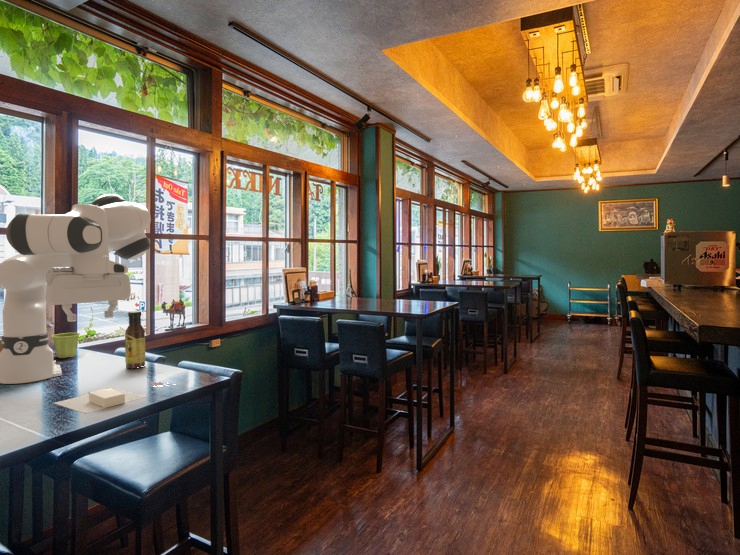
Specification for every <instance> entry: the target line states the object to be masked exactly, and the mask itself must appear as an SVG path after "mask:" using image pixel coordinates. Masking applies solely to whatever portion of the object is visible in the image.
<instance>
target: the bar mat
mask: <svg viewBox="0 0 740 555" xmlns="http://www.w3.org/2000/svg"><path fill="white" fill-rule="evenodd" d="M111 389H113V390H115V391H118V392H121V393H124V394H125V403H130V402H132V401H137V400H141V399H143V398H147V396H146V395H141V394H138V393H134V392H131V391H130V392H129V391H127V390H126V391H125V390H122V389H118V388H114V387H113V388H111ZM125 403H124V404H125ZM53 404H54V405H57V406H61V407H65V408H66V409H70V410H73V411H76V412H80V413H83V414H85V415H86V414H90V413H93V412H94V413H95V412H97V411H100V410H105V409H108V408H111V407H114V406H116V405H114V406H110V407H106V408H104V407H102V406H99V405H97V404H94V403H92V402H89V393H87V394H85V395H81V396H76V397H73V398H68V399H63V400H59V401H56V402H53ZM118 405H120V404H118Z"/></svg>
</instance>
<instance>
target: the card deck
mask: <svg viewBox="0 0 740 555" xmlns="http://www.w3.org/2000/svg"><path fill="white" fill-rule="evenodd" d="M88 394H89V402H92V403H94V404H97V405H99V406H102V407H104V409H107V408H106V407H108V408H111V407H110V406H112V407H114V405H115V406H117V405H118V404H119V405H123V404H125V394H124V393H121V392H118V391H115V390H113V389H112V388H104V389H103V388H102V389H97V390H93V391H90V392H89V391H88Z"/></svg>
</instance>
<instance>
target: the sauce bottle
mask: <svg viewBox="0 0 740 555" xmlns="http://www.w3.org/2000/svg"><path fill="white" fill-rule="evenodd" d="M127 316H128V326H127V328H126V329H125V331H124V332H125V333H124V351H125V356H124V358H125V367H126V369H129V368H137V367H141V366H144V365H145V366H146V336H145V335H146V334H145V332H146V331H145V329H144V326H142V322H141V319H142V317H141V316H142V311H141V310H131V311H128V312H127ZM145 366H144V367H145Z"/></svg>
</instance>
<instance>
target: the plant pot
mask: <svg viewBox="0 0 740 555" xmlns="http://www.w3.org/2000/svg"><path fill="white" fill-rule="evenodd" d="M80 335H81V333H80V332H65V333H63V332H61V333H57V334H52V335H51V338H52V341H53V343H54V347H55V353H56V358H58V359H67V358H73V357H74V358H75V356H76V354H77V346H78V340H79V337H80Z"/></svg>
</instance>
